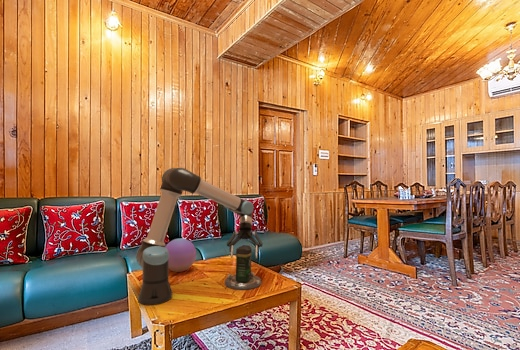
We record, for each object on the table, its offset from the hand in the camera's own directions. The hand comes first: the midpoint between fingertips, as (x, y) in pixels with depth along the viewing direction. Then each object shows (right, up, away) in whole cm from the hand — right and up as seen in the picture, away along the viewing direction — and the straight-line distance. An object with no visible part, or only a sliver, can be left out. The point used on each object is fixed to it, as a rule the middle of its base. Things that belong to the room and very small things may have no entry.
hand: (244, 257), depth 157 cm
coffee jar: (0, -13, 0) cm, 13 cm away
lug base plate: (0, -14, 0) cm, 14 cm away
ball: (-41, -15, +20) cm, 48 cm away
